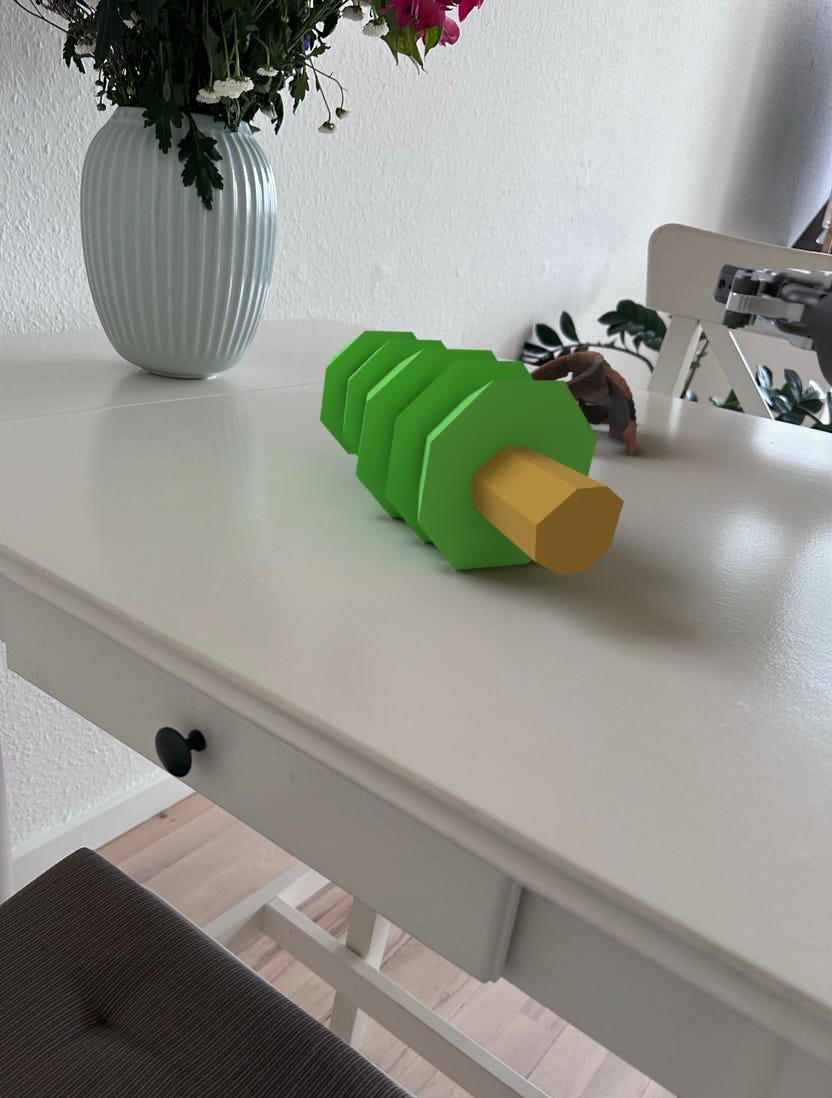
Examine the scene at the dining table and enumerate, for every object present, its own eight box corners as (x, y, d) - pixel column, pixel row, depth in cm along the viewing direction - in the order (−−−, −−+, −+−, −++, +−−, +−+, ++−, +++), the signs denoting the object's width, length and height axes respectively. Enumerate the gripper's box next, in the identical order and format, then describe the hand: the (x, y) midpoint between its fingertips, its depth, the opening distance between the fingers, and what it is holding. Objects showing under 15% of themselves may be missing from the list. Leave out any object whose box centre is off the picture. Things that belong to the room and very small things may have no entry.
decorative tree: (569, 374, 40) (303, 247, 63) (436, 605, 44) (229, 405, 67) (722, 466, 47) (430, 320, 70) (596, 661, 50) (357, 461, 73)
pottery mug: (637, 474, 75) (606, 378, 71) (523, 499, 80) (489, 409, 76) (658, 407, 83) (632, 317, 79) (555, 432, 88) (525, 349, 84)
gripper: (808, 416, 45) (620, 338, 60) (1018, 424, 49) (794, 349, 64) (864, 246, 42) (651, 207, 56) (1086, 269, 46) (833, 227, 60)
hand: (727, 282), depth 60 cm, fingers closed
